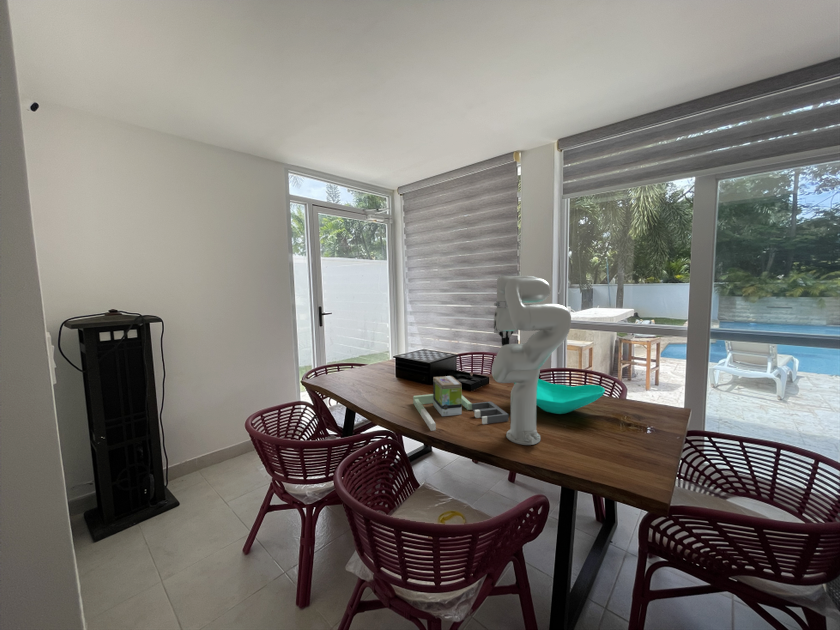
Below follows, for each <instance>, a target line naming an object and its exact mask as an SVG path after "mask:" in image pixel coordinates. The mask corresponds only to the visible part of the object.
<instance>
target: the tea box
mask: <svg viewBox="0 0 840 630" xmlns="http://www.w3.org/2000/svg"><path fill="white" fill-rule="evenodd" d="M432 379H433V380H432V383H433V385H432V386H433V387H432V388H433V389H432V391H433V392H432V394H433V403H432V404H433V407H434V409H436V410H437V412H438V413H439V414H440V416H441V417H451V416H459V415H460V416H461V415H462V410H463V408H462V406H463V405H462V395H463V393H462V392H463V391H462V390H463V389H462V385H463V384H462V383H461V382H460V381H458V379H456V378H455V377H454V376H453V375H447V376H446V375H445V376H433V378H432Z"/></svg>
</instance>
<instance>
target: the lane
mask: <svg viewBox="0 0 840 630" xmlns="http://www.w3.org/2000/svg"><path fill="white" fill-rule="evenodd" d="M412 400H413V402H412V404H413V405H414V406H415V407H414V408H416V410H417V412H418V413H419V414H420V416H421V418H422V419H423V421H424V422H425V424H426V425H427V427H428V429H429V430H430V432H432V431H434V432H435V431H436V429H437V428H436V427H437V424H436V422H435V421H434V419H433V417H432V416H431V415H430V413H429V412H428V411H427V409H426V408H425V407H424V405H428V404H433V393H430V394H422V395H421V394H419V395H413V397H412ZM462 406H463V407H464V408H465V409H466V410H467V411H470V410H471V411H473V410H472V402H470V400H468V399H467V398H466V397H465V396H464V395H463V394H462ZM474 417H475V419H479V418H480V419H481V424H482V425H487V416H483V417H482V418H481V414H480V410H475V412H474Z"/></svg>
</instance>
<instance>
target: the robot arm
mask: <svg viewBox="0 0 840 630" xmlns="http://www.w3.org/2000/svg"><path fill="white" fill-rule="evenodd" d="M550 294H551V286H550V284H549V282H548V281H546V280H545V279H543V278H540V277H536V276H533V275H504V276H503V275H502V276H500V277H497V280H496V302H494V304H493V305H494V307H496V308H494V309H495V310H494V313H493V329H494V331H493V333H494V334H496V335H499V336H500V337H501V347H500V348H499V349H498V352H497V354H496V355H495V358H494V360H493V362H492V364H491V376H492V378H493V380H495V382H496V383H499V384H513V386H512V389H511V391H510V429H508V431H506V433H505V434H506V436H505V437H506V438H507V439H508V440H509V441H510V442H512V443H514V444H517V445H523V446H531V445H536V444H539V443H540V442H541V434H540V433H538V430H537V405H536V404H537V384H538V379H540V378H539V377H540V373H541V367H542V366H543V365H544V364H545V363H546V362H547V360H548V359H549V358H550V356H551V355H552V353H553V352H554V351H556V350H557V349H558V348H559V347H560V346H561V345H562V344H563V343H564V342H565V340H566V339H567V337H568V335H569V332H570V330H571V324H572V314H571V312H570V310H569V309H568V308H567V307H566V306H565V305H561V304H558V303H541V302H544V301H545V300H547V299H548V298H549V296H550ZM517 330H518V331H521V332H522V331H523V332H528V331H529V332H530V331H537V332H535V333H533V334H532V335H531V336H530V337H529V338H528V340H527V341H526V342H524V343H510V339H511V337H512V335H513V334H515V333H517V332H518V331H517ZM514 383H515V384H514Z"/></svg>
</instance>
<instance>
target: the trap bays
mask: <svg viewBox="0 0 840 630" xmlns="http://www.w3.org/2000/svg"><path fill="white" fill-rule="evenodd" d="M471 403H472V402H471ZM475 410H480V414H481V418H480V419H482V417H483V416H487V424H489V425H490V424H497V423H503V422H509V419H510V418H509V416H510V415H509V413H507V412H506V411H505V410H503V408H501V407H499V406H498V405H497V404H496V403H494V402H493V401H483V402H476V403H475V402H473V403H472V410H471V411H472V412H474V413H475ZM487 424H486V425H487Z"/></svg>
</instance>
